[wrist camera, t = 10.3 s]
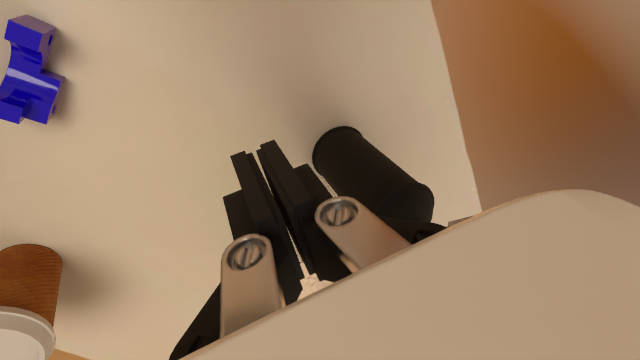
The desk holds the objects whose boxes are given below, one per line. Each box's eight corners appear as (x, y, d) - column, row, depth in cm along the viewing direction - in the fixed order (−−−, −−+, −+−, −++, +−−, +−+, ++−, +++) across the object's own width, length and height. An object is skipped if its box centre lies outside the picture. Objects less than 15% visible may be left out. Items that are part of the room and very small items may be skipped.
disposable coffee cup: (69, 227, 37) (36, 313, 28) (85, 286, 42) (62, 376, 32) (-43, 238, 33) (-126, 341, 24) (-12, 301, 38) (-71, 409, 28)
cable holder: (53, 115, 31) (41, 130, 28) (5, 99, 29) (-14, 114, 26) (77, 36, 29) (66, 44, 26) (27, 14, 27) (8, 19, 24)
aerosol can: (302, 144, 43) (380, 240, 28) (354, 114, 44) (459, 191, 28) (323, 187, 48) (399, 288, 33) (370, 159, 49) (465, 245, 33)
